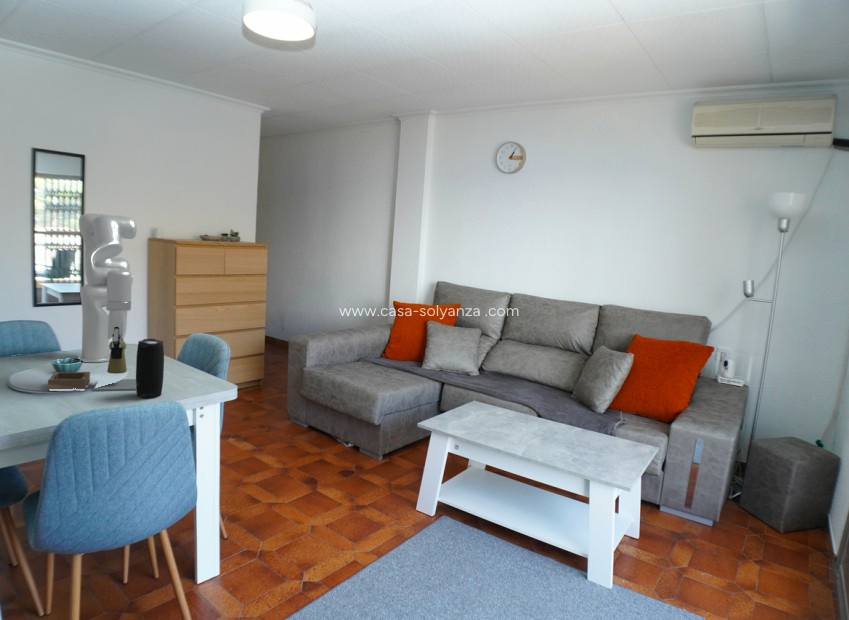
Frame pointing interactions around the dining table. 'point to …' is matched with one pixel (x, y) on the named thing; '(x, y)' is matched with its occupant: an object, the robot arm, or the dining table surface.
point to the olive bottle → (117, 361)
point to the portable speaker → (149, 368)
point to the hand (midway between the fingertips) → (117, 356)
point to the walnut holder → (69, 380)
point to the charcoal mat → (119, 386)
